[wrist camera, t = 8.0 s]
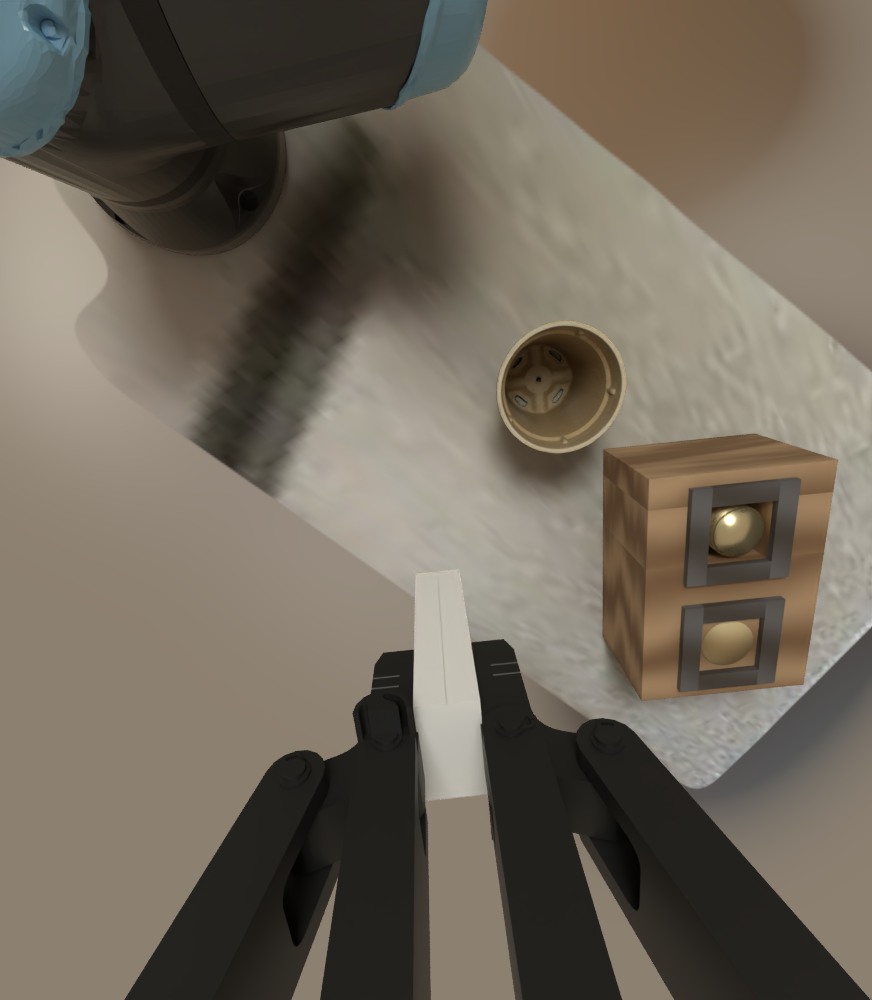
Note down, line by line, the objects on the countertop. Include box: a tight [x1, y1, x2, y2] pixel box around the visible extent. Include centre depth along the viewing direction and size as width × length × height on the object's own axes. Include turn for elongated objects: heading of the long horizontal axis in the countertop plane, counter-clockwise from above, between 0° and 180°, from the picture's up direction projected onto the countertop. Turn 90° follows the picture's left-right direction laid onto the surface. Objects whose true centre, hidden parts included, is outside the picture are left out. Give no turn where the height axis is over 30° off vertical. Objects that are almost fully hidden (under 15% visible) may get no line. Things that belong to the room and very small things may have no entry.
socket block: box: [603, 434, 838, 701], centre depth 46 cm, size 20×14×11 cm
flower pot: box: [497, 321, 626, 453], centre depth 41 cm, size 9×9×9 cm
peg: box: [709, 504, 764, 557], centre depth 43 cm, size 4×4×8 cm
